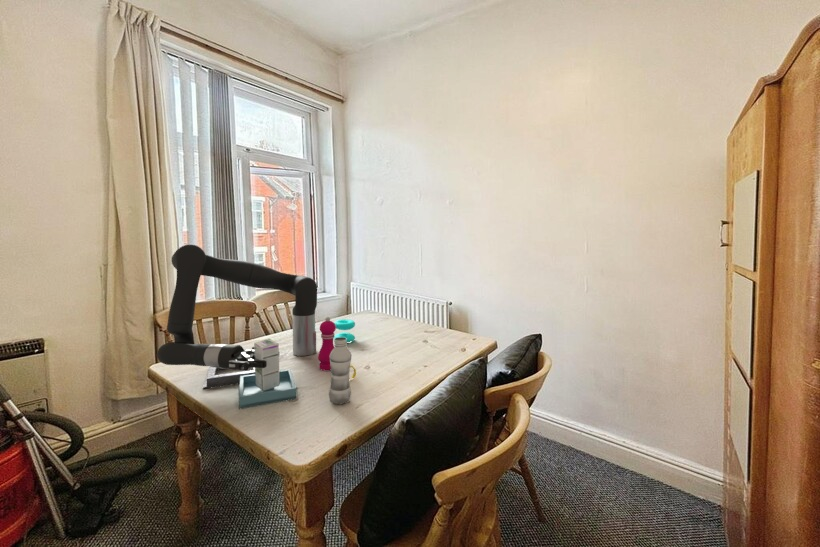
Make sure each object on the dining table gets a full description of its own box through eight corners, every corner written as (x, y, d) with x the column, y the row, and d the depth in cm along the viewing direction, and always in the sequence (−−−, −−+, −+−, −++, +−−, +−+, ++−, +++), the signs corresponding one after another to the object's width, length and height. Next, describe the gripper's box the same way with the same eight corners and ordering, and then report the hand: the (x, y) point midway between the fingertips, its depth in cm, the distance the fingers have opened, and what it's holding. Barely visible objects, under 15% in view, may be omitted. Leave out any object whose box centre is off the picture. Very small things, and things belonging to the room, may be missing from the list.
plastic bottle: (330, 396, 106) (330, 335, 103) (352, 396, 106) (352, 335, 104) (327, 407, 99) (327, 342, 97) (350, 406, 100) (350, 342, 98)
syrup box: (280, 385, 108) (280, 342, 106) (262, 391, 103) (261, 346, 102) (272, 380, 111) (271, 338, 110) (254, 385, 107) (253, 342, 105)
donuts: (336, 318, 165) (356, 319, 164) (336, 338, 166) (356, 338, 166) (331, 323, 155) (353, 324, 155) (331, 344, 156) (352, 345, 156)
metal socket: (261, 362, 132) (261, 354, 132) (263, 380, 116) (263, 372, 116) (209, 368, 124) (208, 361, 124) (202, 389, 108) (202, 380, 108)
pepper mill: (320, 372, 124) (320, 320, 122) (316, 365, 130) (316, 315, 128) (339, 369, 127) (339, 318, 125) (334, 362, 133) (334, 314, 131)
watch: (353, 378, 120) (354, 362, 120) (356, 381, 118) (357, 365, 118) (337, 380, 117) (338, 364, 117) (339, 383, 115) (341, 366, 115)
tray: (291, 378, 118) (290, 369, 118) (296, 398, 104) (296, 388, 103) (240, 386, 111) (240, 376, 111) (239, 408, 97) (238, 397, 97)
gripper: (208, 352, 100) (260, 356, 99) (237, 338, 114) (282, 340, 113) (209, 376, 101) (261, 380, 100) (237, 359, 115) (283, 362, 114)
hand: (272, 359), depth 106 cm, fingers closed on syrup box, 8 cm apart
